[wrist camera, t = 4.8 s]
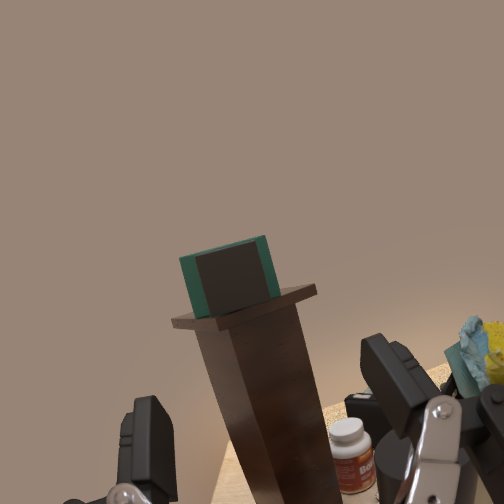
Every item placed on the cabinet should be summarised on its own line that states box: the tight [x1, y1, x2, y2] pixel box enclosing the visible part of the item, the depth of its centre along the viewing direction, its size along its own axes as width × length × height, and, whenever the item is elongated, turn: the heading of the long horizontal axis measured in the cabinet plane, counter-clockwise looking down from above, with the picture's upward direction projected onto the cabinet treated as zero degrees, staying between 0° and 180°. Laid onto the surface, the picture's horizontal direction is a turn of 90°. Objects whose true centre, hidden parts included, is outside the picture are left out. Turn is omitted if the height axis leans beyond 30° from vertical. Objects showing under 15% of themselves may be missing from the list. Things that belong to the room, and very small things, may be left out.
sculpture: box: [444, 315, 504, 398], centre depth 39 cm, size 18×18×15 cm
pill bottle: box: [329, 418, 376, 493], centre depth 37 cm, size 6×6×11 cm
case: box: [179, 235, 281, 319], centre depth 24 cm, size 17×7×5 cm, turn 5°
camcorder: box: [344, 373, 465, 448], centre depth 46 cm, size 20×18×10 cm
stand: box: [171, 284, 343, 504], centre depth 28 cm, size 10×10×32 cm
